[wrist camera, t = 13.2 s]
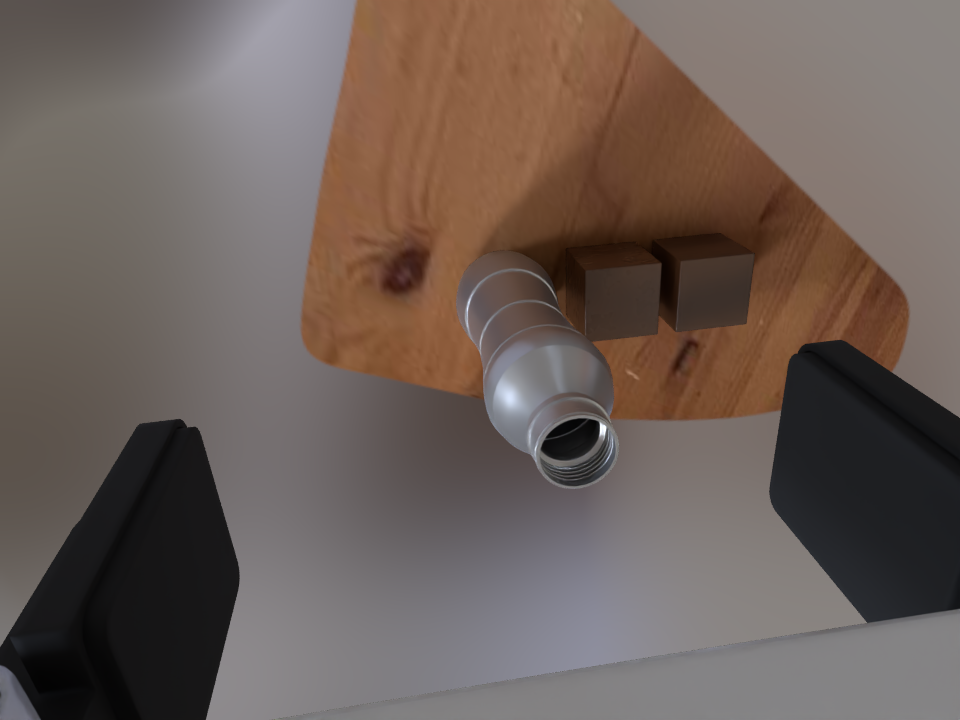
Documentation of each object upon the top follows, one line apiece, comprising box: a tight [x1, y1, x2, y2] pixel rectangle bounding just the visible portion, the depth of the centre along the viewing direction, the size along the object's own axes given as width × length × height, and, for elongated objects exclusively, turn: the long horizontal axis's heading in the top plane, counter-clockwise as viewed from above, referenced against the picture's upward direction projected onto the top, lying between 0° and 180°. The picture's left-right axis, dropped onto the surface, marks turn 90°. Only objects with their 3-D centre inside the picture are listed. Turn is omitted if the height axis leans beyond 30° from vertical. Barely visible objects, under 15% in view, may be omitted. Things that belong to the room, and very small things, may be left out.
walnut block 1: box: [566, 242, 662, 342], centre depth 45 cm, size 5×5×5 cm
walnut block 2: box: [652, 233, 755, 332], centre depth 45 cm, size 5×5×5 cm
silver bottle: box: [456, 250, 619, 489], centre depth 37 cm, size 6×7×20 cm
